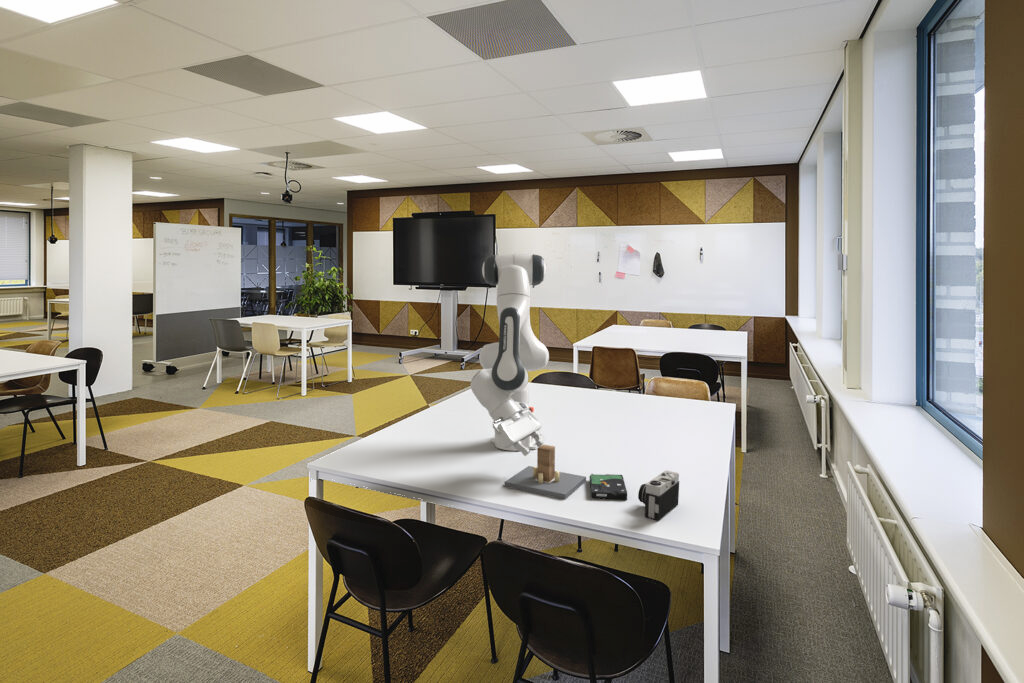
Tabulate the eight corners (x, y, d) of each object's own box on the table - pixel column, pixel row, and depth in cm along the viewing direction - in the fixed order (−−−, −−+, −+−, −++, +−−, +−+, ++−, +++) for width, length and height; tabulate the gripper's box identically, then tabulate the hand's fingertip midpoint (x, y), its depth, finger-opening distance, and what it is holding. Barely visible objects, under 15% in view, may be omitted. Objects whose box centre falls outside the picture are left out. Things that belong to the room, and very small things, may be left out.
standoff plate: (528, 470, 183) (528, 457, 182) (586, 481, 173) (586, 467, 173) (504, 486, 169) (504, 472, 168) (565, 499, 159) (565, 484, 159)
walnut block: (542, 475, 174) (543, 444, 172) (554, 477, 172) (554, 446, 171) (537, 479, 170) (537, 448, 169) (549, 482, 168) (549, 450, 167)
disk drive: (627, 502, 159) (622, 482, 174) (628, 493, 159) (622, 473, 173) (591, 501, 160) (588, 481, 175) (591, 491, 160) (588, 472, 174)
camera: (655, 497, 161) (657, 464, 160) (683, 507, 155) (686, 473, 153) (627, 511, 152) (629, 476, 150) (657, 523, 145) (659, 487, 144)
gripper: (496, 416, 165) (525, 453, 162) (527, 401, 183) (554, 435, 180) (483, 428, 168) (512, 465, 165) (515, 413, 186) (542, 446, 182)
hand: (534, 449), depth 172 cm, fingers open, 8 cm apart
